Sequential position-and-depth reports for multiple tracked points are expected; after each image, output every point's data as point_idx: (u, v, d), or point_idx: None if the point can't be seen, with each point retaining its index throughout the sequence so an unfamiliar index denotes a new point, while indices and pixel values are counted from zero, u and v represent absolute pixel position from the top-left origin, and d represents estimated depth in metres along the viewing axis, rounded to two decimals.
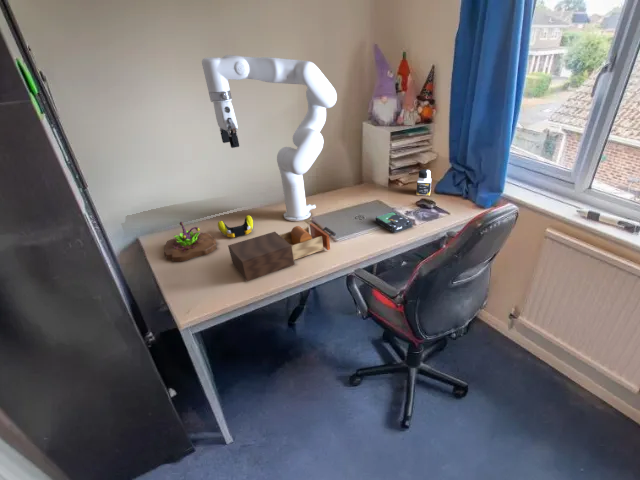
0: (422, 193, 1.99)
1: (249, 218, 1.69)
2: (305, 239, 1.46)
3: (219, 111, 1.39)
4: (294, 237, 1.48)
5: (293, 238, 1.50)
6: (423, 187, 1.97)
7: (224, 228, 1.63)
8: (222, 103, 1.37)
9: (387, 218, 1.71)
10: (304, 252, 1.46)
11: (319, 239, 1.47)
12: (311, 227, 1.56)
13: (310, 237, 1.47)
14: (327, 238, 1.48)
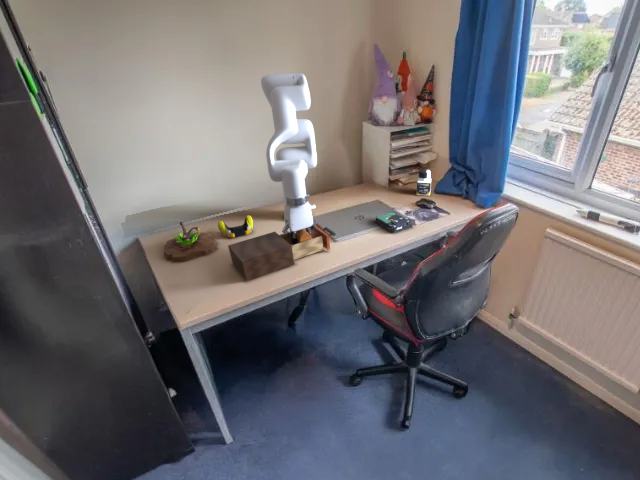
0: (422, 193, 1.99)
1: (249, 218, 1.69)
2: (305, 239, 1.46)
3: (307, 211, 1.43)
4: None
5: None
6: (423, 187, 1.97)
7: (224, 228, 1.63)
8: (308, 202, 1.43)
9: (387, 218, 1.71)
10: (304, 252, 1.46)
11: (319, 239, 1.47)
12: None
13: (310, 237, 1.47)
14: (327, 238, 1.48)
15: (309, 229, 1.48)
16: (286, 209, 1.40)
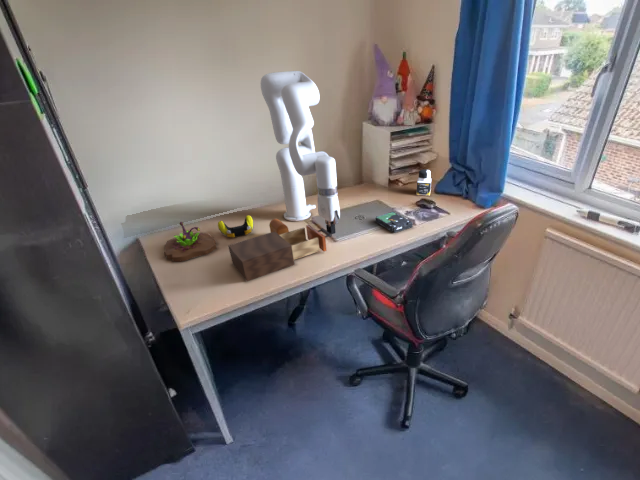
0: (422, 193, 1.99)
1: (249, 218, 1.69)
2: (282, 231, 1.57)
3: None
4: (272, 229, 1.60)
5: (271, 230, 1.61)
6: (423, 187, 1.97)
7: (224, 228, 1.63)
8: None
9: (387, 218, 1.71)
10: (300, 253, 1.45)
11: (315, 241, 1.47)
12: (307, 229, 1.56)
13: (287, 229, 1.58)
14: (323, 239, 1.48)
15: None
16: (334, 200, 1.45)
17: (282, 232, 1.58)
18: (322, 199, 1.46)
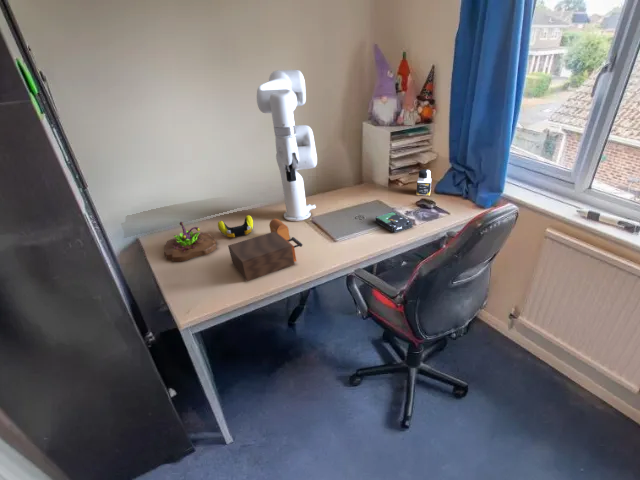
0: (422, 193, 1.99)
1: (249, 218, 1.69)
2: (282, 231, 1.57)
3: None
4: (272, 229, 1.60)
5: (271, 230, 1.61)
6: (423, 187, 1.97)
7: (224, 228, 1.63)
8: None
9: (387, 218, 1.71)
10: None
11: None
12: None
13: (287, 229, 1.58)
14: (292, 249, 1.41)
15: None
16: (291, 140, 1.36)
17: (282, 232, 1.58)
18: (279, 141, 1.38)
